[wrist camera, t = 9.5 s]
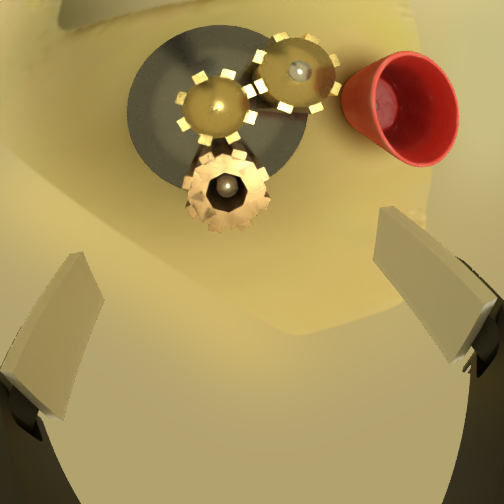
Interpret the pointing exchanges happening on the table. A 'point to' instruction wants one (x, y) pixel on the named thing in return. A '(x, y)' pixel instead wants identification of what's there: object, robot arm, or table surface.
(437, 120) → the flower pot
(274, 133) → the carrier
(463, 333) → the robot arm
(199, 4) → the table surface
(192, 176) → the gear
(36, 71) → the table surface
